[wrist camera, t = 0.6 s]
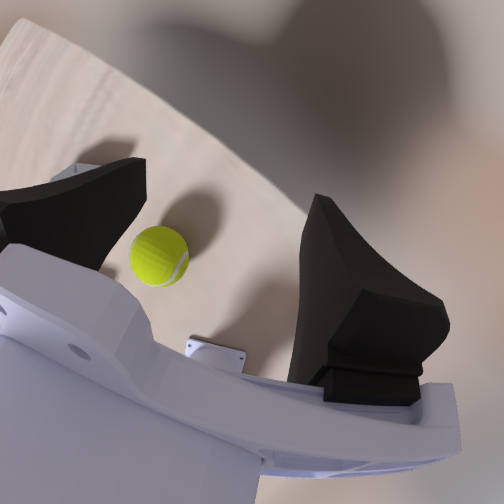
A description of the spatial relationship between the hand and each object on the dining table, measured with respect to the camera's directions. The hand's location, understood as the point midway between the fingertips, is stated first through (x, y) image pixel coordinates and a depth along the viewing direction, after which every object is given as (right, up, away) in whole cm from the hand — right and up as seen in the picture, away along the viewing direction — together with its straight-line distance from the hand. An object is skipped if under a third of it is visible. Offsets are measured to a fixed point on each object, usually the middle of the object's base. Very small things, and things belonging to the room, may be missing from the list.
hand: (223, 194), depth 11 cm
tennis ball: (-9, -2, +22) cm, 24 cm away
